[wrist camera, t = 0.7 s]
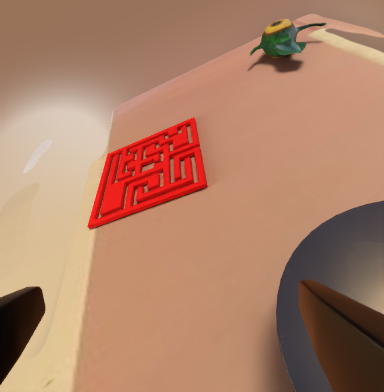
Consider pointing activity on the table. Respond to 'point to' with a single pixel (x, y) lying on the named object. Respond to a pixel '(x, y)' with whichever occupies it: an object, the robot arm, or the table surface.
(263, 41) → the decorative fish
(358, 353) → the robot arm
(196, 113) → the table surface
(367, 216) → the lid
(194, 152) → the maze puzzle
